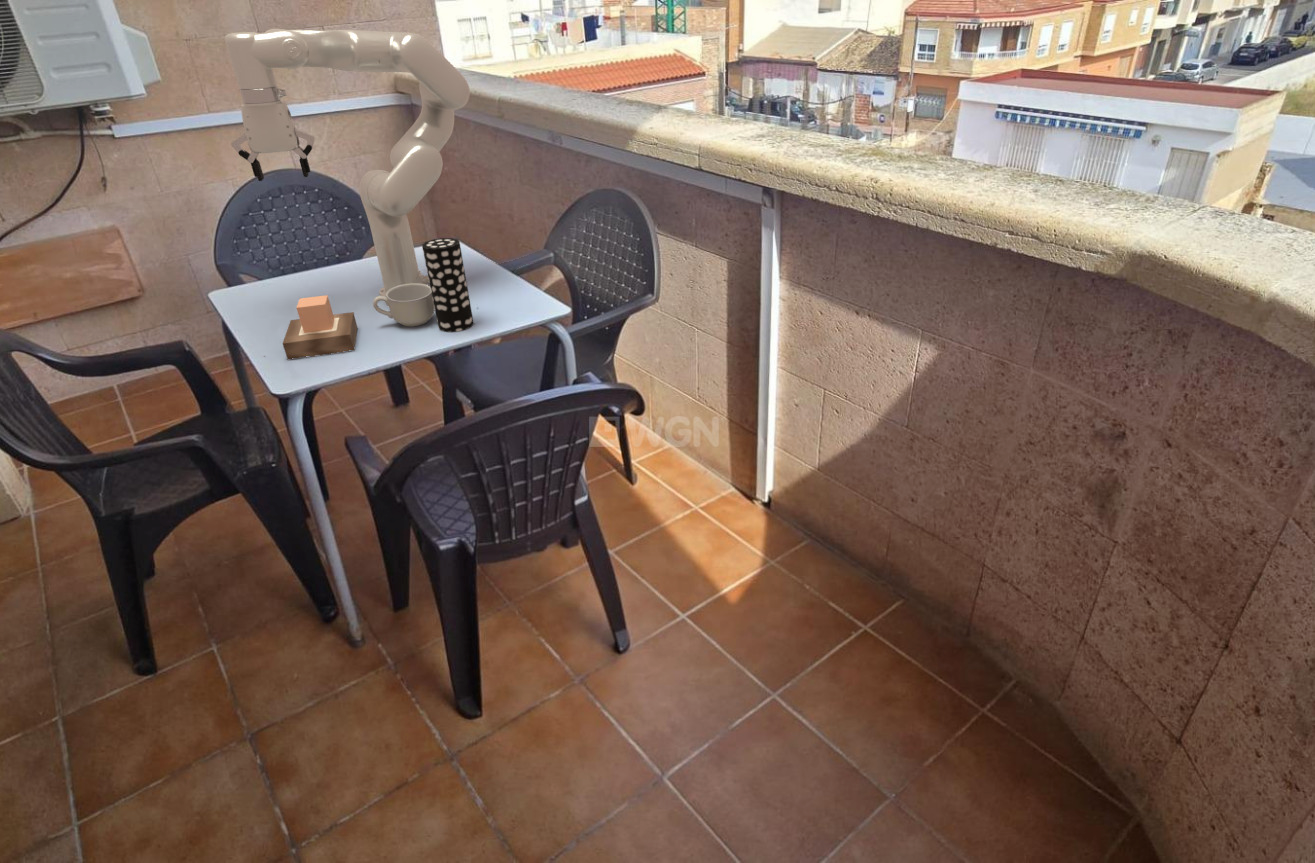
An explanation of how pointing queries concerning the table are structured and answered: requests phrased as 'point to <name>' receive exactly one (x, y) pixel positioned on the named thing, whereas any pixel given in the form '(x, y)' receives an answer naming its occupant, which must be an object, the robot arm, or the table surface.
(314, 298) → the cube
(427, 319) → the teacup
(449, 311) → the spotted tube
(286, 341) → the plinth
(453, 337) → the table surface
